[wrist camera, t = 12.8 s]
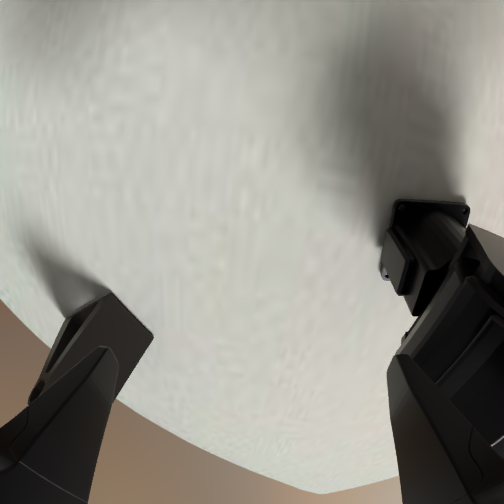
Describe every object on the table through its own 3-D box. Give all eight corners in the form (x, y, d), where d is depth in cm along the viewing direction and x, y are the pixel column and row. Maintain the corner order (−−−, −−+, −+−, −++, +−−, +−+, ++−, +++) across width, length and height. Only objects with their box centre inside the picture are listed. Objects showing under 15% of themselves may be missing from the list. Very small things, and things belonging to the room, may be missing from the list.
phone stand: (112, 291, 25) (51, 402, 15) (155, 335, 28) (115, 446, 18) (65, 318, 28) (14, 405, 18) (102, 354, 31) (63, 442, 20)
